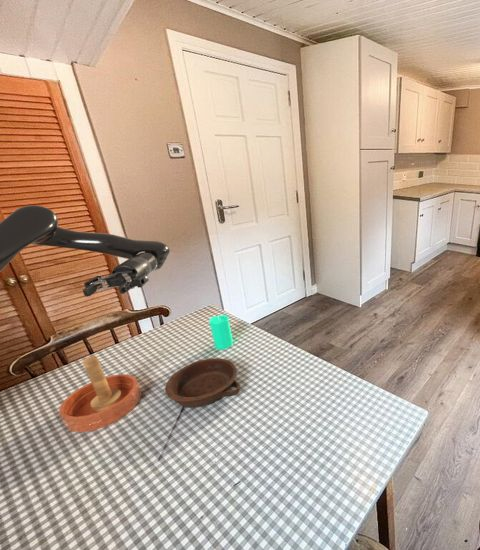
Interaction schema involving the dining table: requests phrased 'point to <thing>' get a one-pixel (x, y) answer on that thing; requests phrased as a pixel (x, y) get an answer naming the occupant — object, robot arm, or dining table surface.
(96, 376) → the wooden pestle
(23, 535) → the dining table surface
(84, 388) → the bowl
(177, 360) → the dining table surface
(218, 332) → the candle
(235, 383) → the dish
